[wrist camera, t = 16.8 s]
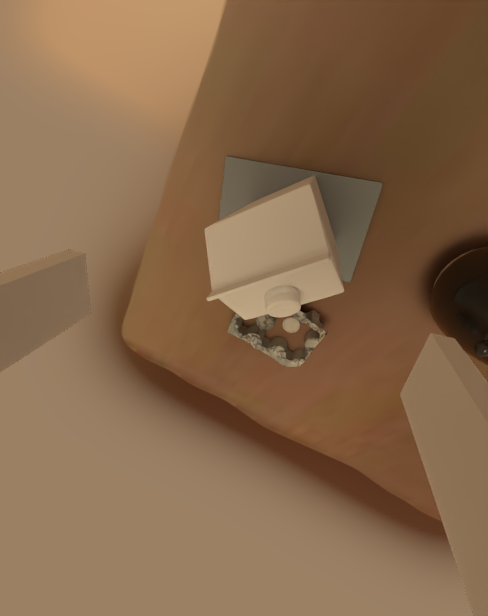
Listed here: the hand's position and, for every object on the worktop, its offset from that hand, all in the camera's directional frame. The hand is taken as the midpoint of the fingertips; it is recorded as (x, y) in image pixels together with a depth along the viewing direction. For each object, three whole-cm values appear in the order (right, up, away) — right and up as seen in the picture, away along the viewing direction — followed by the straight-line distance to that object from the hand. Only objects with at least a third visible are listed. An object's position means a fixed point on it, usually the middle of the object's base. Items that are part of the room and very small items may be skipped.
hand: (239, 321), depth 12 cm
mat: (+5, +10, +22) cm, 25 cm away
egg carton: (+5, -1, +28) cm, 28 cm away
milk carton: (+6, +10, +21) cm, 24 cm away
